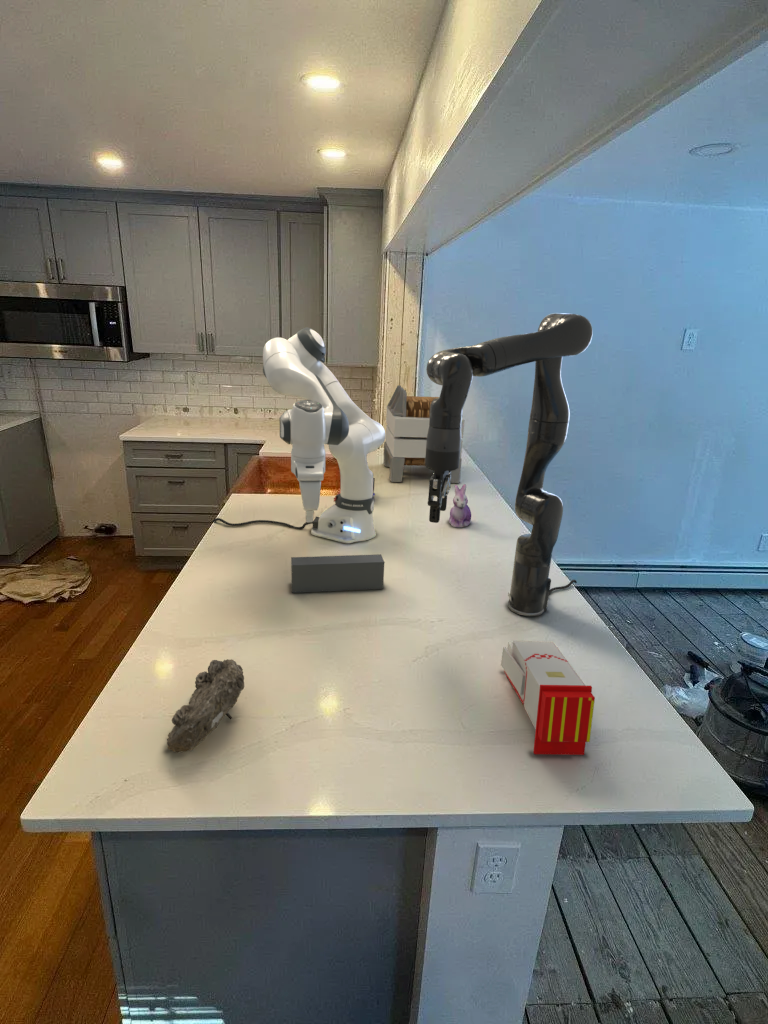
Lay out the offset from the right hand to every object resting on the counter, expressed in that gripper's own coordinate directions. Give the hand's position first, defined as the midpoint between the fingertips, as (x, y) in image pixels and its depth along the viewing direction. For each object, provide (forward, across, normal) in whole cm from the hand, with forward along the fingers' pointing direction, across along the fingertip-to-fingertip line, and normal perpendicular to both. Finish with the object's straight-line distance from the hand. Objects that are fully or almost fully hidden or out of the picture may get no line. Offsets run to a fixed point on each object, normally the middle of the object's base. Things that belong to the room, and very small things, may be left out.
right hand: (437, 515), depth 130 cm
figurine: (+31, +78, +4) cm, 84 cm away
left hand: (+9, +11, +37) cm, 39 cm away
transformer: (+31, +140, +33) cm, 147 cm away
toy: (+31, -20, -27) cm, 45 cm away
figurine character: (+31, +92, +45) cm, 107 cm away
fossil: (+31, -44, +33) cm, 63 cm away
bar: (+31, +15, +29) cm, 45 cm away
